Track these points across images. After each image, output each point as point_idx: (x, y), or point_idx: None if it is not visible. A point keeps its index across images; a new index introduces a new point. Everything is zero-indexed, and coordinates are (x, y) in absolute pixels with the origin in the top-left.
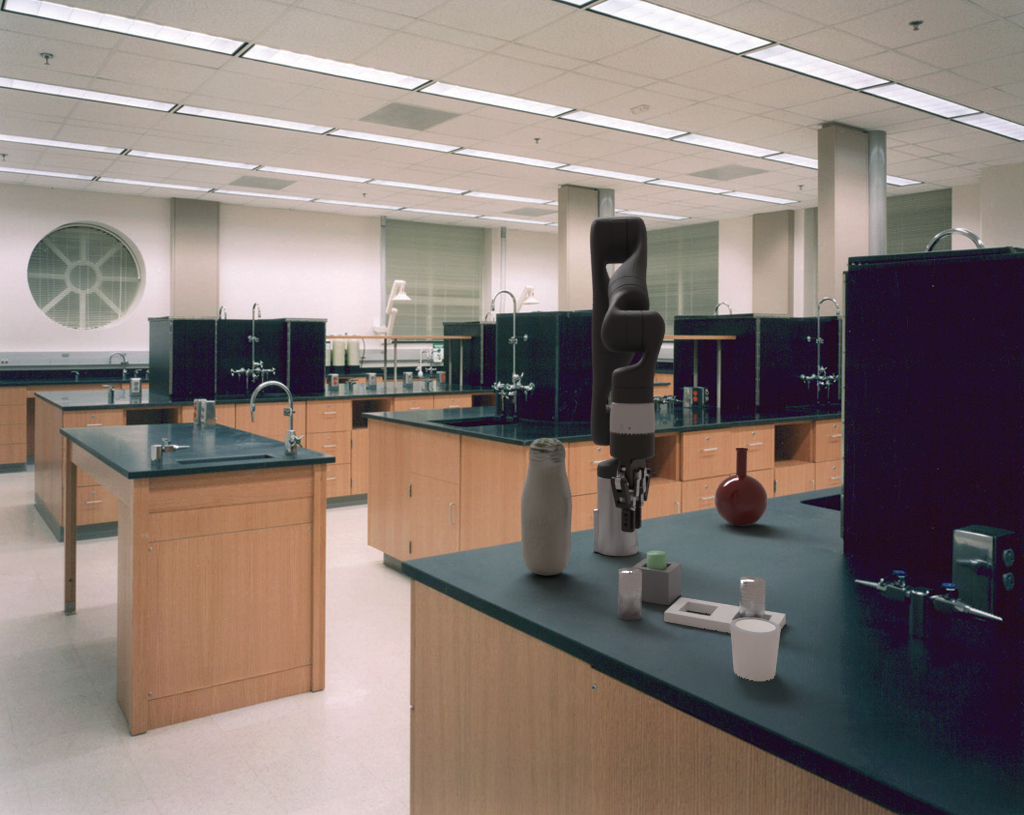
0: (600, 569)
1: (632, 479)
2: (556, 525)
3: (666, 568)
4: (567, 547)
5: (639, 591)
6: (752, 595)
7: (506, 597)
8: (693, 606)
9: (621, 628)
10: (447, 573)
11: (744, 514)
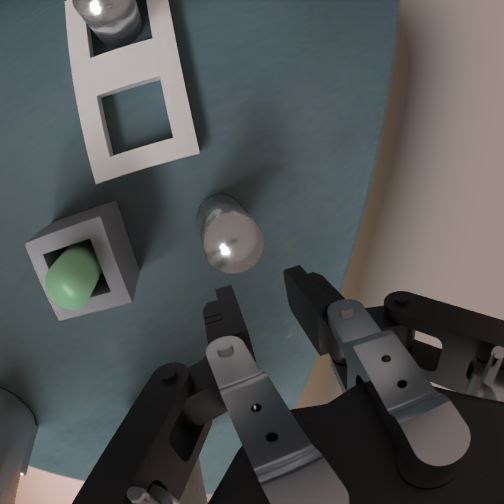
0: (73, 389)
1: (456, 402)
2: None
3: (77, 241)
4: None
5: (228, 205)
6: None
7: (277, 389)
8: (108, 145)
9: (281, 191)
10: None
11: None
